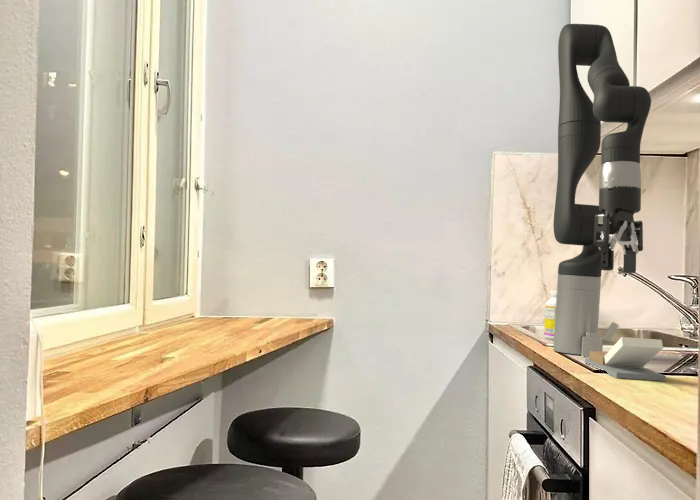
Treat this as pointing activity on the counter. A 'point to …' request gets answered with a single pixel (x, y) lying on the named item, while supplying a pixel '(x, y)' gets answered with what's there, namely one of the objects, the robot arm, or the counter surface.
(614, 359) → the board
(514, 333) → the counter surface
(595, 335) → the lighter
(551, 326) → the supplement bottle
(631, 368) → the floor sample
